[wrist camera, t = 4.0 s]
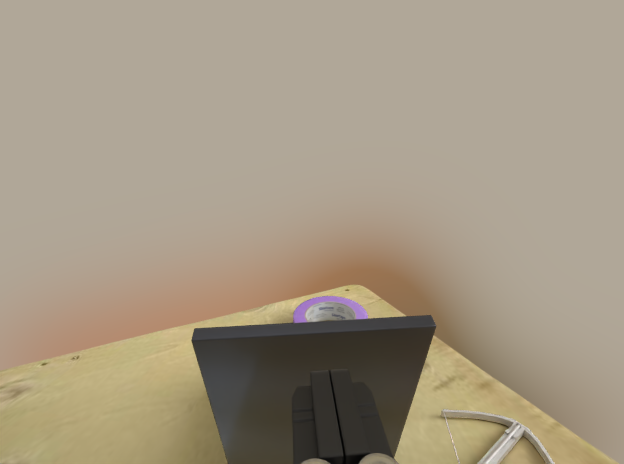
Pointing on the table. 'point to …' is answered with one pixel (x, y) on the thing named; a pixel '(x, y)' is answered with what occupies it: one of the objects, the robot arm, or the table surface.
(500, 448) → the crossbow
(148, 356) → the table surface
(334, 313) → the tape roll
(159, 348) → the table surface
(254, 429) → the case lid
